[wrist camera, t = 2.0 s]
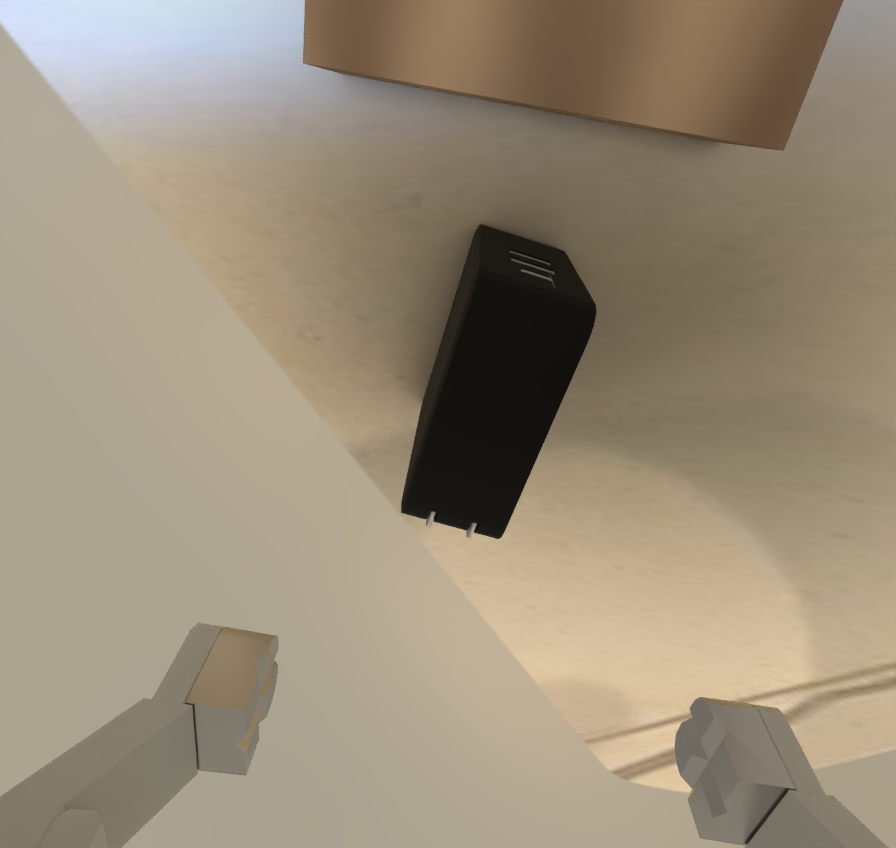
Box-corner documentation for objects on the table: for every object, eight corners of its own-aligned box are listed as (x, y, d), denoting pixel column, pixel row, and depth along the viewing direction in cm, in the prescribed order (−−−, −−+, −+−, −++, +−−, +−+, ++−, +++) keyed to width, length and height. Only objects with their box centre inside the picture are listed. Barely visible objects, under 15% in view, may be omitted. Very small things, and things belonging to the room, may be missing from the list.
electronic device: (564, 247, 27) (603, 313, 18) (494, 427, 32) (499, 549, 23) (478, 220, 26) (475, 274, 18) (421, 406, 31) (396, 522, 22)
